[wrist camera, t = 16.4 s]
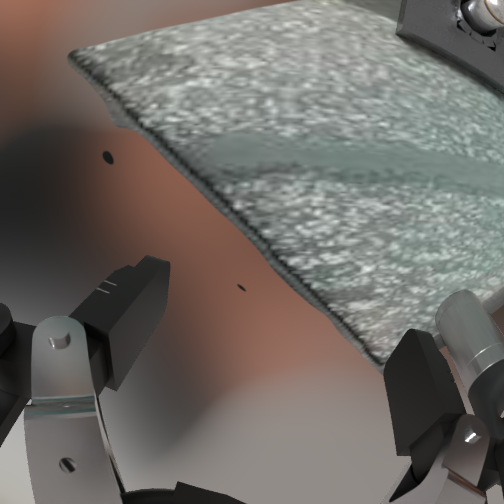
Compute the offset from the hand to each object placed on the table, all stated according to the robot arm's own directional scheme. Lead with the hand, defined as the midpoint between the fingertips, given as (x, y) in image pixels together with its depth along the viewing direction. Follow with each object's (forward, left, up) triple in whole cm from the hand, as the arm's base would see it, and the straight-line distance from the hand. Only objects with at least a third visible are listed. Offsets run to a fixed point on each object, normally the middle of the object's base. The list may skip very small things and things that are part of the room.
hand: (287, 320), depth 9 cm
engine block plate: (-19, -31, -33) cm, 49 cm away
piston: (-19, -31, -33) cm, 49 cm away
